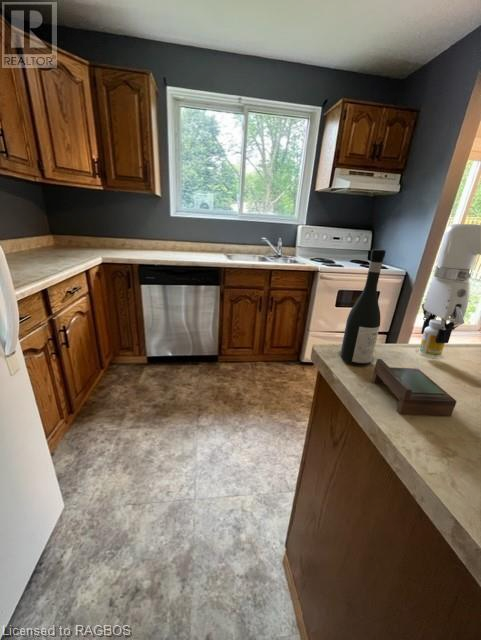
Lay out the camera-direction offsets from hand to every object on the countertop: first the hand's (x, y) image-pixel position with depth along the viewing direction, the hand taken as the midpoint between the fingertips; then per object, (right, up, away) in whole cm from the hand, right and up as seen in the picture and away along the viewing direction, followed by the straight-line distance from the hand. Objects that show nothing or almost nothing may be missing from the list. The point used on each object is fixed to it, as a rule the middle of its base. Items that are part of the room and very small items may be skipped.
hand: (434, 337), depth 76 cm
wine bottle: (-23, -7, -1) cm, 24 cm away
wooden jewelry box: (-19, -13, -18) cm, 29 cm away
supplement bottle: (0, -5, +2) cm, 5 cm away
